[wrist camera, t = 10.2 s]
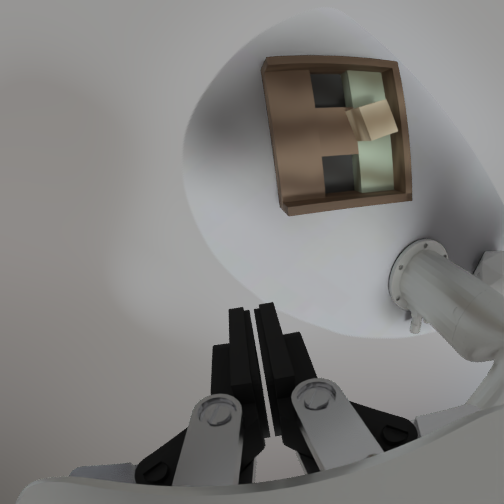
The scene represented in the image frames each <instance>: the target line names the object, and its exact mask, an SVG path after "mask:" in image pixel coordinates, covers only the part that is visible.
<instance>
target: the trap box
mask: <svg viewBox="0 0 504 504" xmlns="http://www.w3.org/2000/svg"><path fill="white" fill-rule="evenodd" d="M261 75H262V81H263V87H264V94H265V100H266V107H267V113H268V120H269V127H270V134H271V141H272V148H273V156H274V163H275V171H276V179H277V187H278V195H279V203H280V208H281V209H282V210H283V211H284V212H285V213H286V214H287V215H288V216H295V215H302V214H309V213H316V212H323V211H331V210H338V209H346V208H354V207H362V206H370V205H378V204H387V203H396V202H405V201H412V174H411V156H410V143H409V133H408V124H407V115H406V108H405V101H404V95H403V89H402V83H401V77H400V72H399V67H398V63H397V62H396V61H389V60H381V59H372V58H361V57H347V56H321V55H300V56H274V57H266V59H265V61H264V64H263V66H262V68H261ZM385 99H387V102H388V104H389V107H390V110H391V112H392V115H393V118H394V120H395V123H396V126H397V129H398V131H397V132H395V133H392V134H389V135H386V136H383V137H381V138H378V139H375V140H372V141H357V140H356V137H355V135H354V132H353V130H352V127H351V125H350V122H349V120H348V117H347V115H346V112H345V111H348V110H351V109H354V108H357V107H360V106H363V105H367V104H370V103H374V102H377V101H381V100H385Z"/></svg>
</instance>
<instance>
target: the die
mask: <svg viewBox="0 0 504 504" xmlns="http://www.w3.org/2000/svg"><path fill="white" fill-rule="evenodd" d="M473 275H474V276H475V277H477V278H478V279H480V280H481V281H483V282H484V283H486V284H487V285H489V286H490V287H492V288H493V289H495V290H496V291H498V292H499V293H501V294H502V295H504V251H485V252H484V254H483V256H482V258H481V260H480V262H479V264H478V266H477V268H476V270H475V272H474V274H473Z"/></svg>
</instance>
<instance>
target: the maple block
mask: <svg viewBox="0 0 504 504" xmlns="http://www.w3.org/2000/svg"><path fill="white" fill-rule="evenodd" d="M345 112H346V115H347V117H348V120H349V122H350V125H351V127H352V130H353V132H354V135H355V137H356V140H357V141H372V140H375V139H378V138H381V137H383V136H386V135H389V134H392V133H395V132H397V131H398V129H397V126H396V123H395V120H394V118H393V115H392V112H391V110H390V107H389V104H388V102H387V99H385V100H381V101H377V102H374V103H370V104H367V105H363V106H360V107H357V108H354V109H351V110H348V111H345Z"/></svg>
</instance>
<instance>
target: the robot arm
mask: <svg viewBox="0 0 504 504" xmlns="http://www.w3.org/2000/svg"><path fill="white" fill-rule="evenodd" d="M389 291H390V295H391V298H392V300H393V301H394V302H395V304H396V305H398V306H399V307H400V308H402V309H404V310H408V311H411V317H412V321H411V326H410V332H411V333H413V334H417V333H419V332H420V328H421V323H422V322H421V320H422V318H424V320H423V321H424V323H429V324H430V325H431V326H432V327H433V328H434V329H435V330H436V331H437V332H439V334H440V335H441V336H442V337H443V338H444V339H445V340H446V341H447V342H448V343H449V344H450V345H451V346H452V347H453V348H454V349H455V351H457V353H458V354H459V355H460V356H461V357H463V358H464V359H466V360H468V361H471V362H485V361H492V360H494V364H493V366H492V368H491V369H490V371H489V372H488V374H487V376H486V377H485V379H484V380H483V382H482V383H481V384H480V386H479V387H478V388H477V389H476V391H475V392H474V393H473V394H472V396H471V397H470V398H469V399H468V401H467V402H466V403H465V404H464V405H461V406H458V407H454V408H451V409H447V410H443V411H439V412H435V413H430V414H426V415H421V416H417V417H416V418H415V420H411V421H409V420H407V419H405V418H403V417H399V416H395V415H392V414H389V413H385V412H382V411H378V410H375V409H372V408H369V407H366V406H363V405H360V404H357V403H354V402H351V401H349V400H348V399H347V398H346V396H345V395H344V393H343V392H342V390H341V389H340V387H339V386H338V385H337V384H336V383H334V382H332V381H330V380H328V379H323V378H317V376H316V373H315V370H314V368H313V365H312V362H311V360H310V357H309V355H308V352H307V349H306V346H305V344H304V341H303V339H302V336H301V334H300V332H295V333H290V334H285V335H283V334H282V330H281V327H280V324H279V321H278V317H277V313H276V310H275V307H274V303H273V302H271V303H265V304H260V305H259V308H258V309H254V313H255V319H256V325H257V332H258V338H259V344H260V350H261V356H262V362H263V368H264V373H265V379H266V385H267V391H268V397H269V402H270V408H271V414H272V420H273V426H274V431H275V436H280V435H282V440H283V443H284V445H286V446H288V447H289V448H291V449H293V450H295V451H296V456H297V458H298V460H299V462H300V464H301V467H302V469H303V471H304V474H305V475H302V476H298V477H292V478H287V479H281V480H274V481H267V482H260V483H255V477H256V465H257V464H256V463H257V460H256V456H257V455H258V454H259V453H260V452H261V451H262V450H263V449H264V446H265V440H264V438H267V437H270V432H269V426H268V420H267V413H266V407H265V401H264V396H263V388H262V382H261V375H260V369H259V363H258V357H257V352H256V346H255V340H254V335H253V328H252V323H251V317H250V311H249V310H246V311H244V309H243V307H240V308H234V309H229V342H230V343H228V344H221V345H214V346H213V353H212V354H213V355H212V375H211V376H212V377H211V395H210V396H207V397H205V398H203V399H202V400H200V401H199V402H198V403H197V404H196V405H195V407H194V409H193V411H192V415H191V418H190V422H189V426H188V427H187V428H186V429H185V430H184V431H182V432H181V433H179V434H178V435H177V436H175V437H174V438H173V439H171V440H170V441H169V442H167V443H166V444H164V445H163V446H162V447H160V448H159V449H157V450H156V451H155V452H153V453H152V454H150V455H149V456H148V457H146V458H145V459H143V460H142V461H141V462H140V463H139V464H138V465H133V464H132V463H123V464H112V465H99V466H82V467H77V468H76V469H74V470H73V471H72V472H71V473H70V475H69V476H68V477H67V476H66V477H65V476H62V477H51V478H44V479H40V480H37V481H33V482H32V483H30V484H28V485H27V486H26V487H25V488H24V489H23V491H22V492H21V494H20V495H19V497H18V499H17V501H16V504H504V295H502V294H501V293H499V292H498V291H496V290H495V289H493V288H492V287H490V286H489V285H487V284H486V283H484V282H483V281H481V280H480V279H478V278H477V277H475V276H474V275H472V274H471V273H469V272H468V271H466V270H465V269H463V268H461V267H460V266H458V265H457V264H455V263H453V262H452V261H450V260H449V258H448V254H447V252H446V250H445V248H444V247H443V246H442V245H441V244H440V243H438V242H437V241H434V240H432V239H421V240H419V241H416V242H414V243H412V244H411V245H409V246H408V247H407V248H406V249H405V250H404V251H403V252H402V253H401V254H400V256H399V257H398V259H397V260H396V262H395V264H394V266H393V268H392V271H391V275H390V280H389Z"/></svg>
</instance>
